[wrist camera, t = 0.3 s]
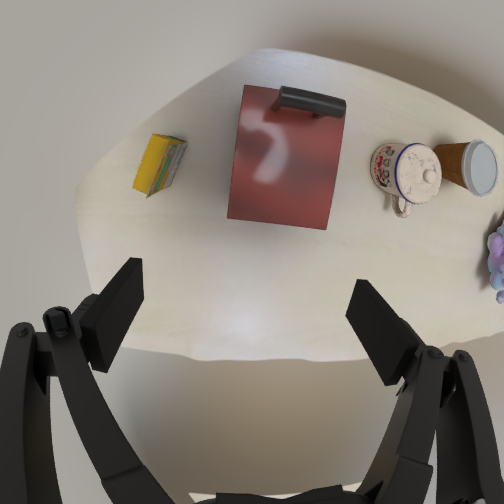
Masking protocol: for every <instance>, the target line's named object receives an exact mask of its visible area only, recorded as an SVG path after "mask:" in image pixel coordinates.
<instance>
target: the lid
mask: <svg viewBox="0 0 504 504" xmlns="http://www.w3.org/2000/svg"><path fill="white" fill-rule="evenodd" d="M345 114H346V102H345V100H343V99H339V98H336V97H332V96H328V95H324V94H320V93H316V92H311V91H307V90H302V89H297V88H292V87H287V86H281V88H280V90H278V89H272V88H265V87H258V86H251V85H244V89H243V96H242V103H241V110H240V117H239V124H238V131H237V139H236V147H235V154H234V162H233V170H232V178H231V187H230V195H229V204H228V213H227V218H228V219H238V220H247V221H256V222H265V223H273V224H281V225H290V226H298V227H305V228H313V229H321V230H326V228H327V223H328V218H329V213H330V208H331V203H332V197H333V192H334V186H335V181H336V175H337V169H338V163H339V157H340V150H341V143H342V136H343V129H344V122H345Z"/></svg>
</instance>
